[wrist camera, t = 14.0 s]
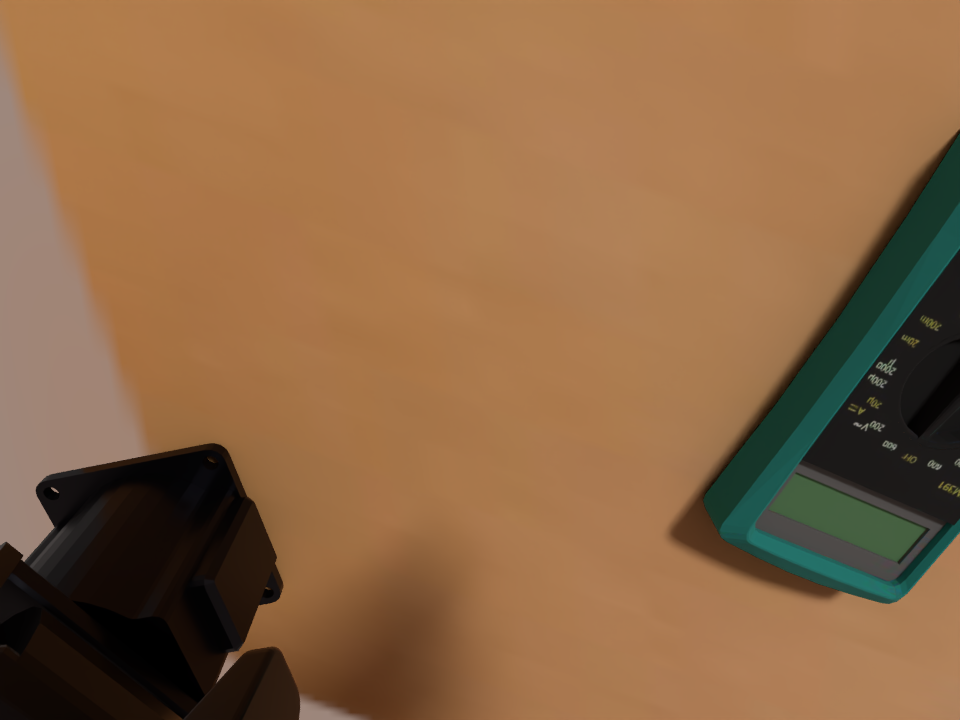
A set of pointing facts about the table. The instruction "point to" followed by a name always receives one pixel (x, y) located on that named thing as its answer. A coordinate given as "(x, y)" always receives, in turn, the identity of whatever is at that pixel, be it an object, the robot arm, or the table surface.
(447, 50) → the table surface
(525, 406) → the table surface
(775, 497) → the digital multimeter
